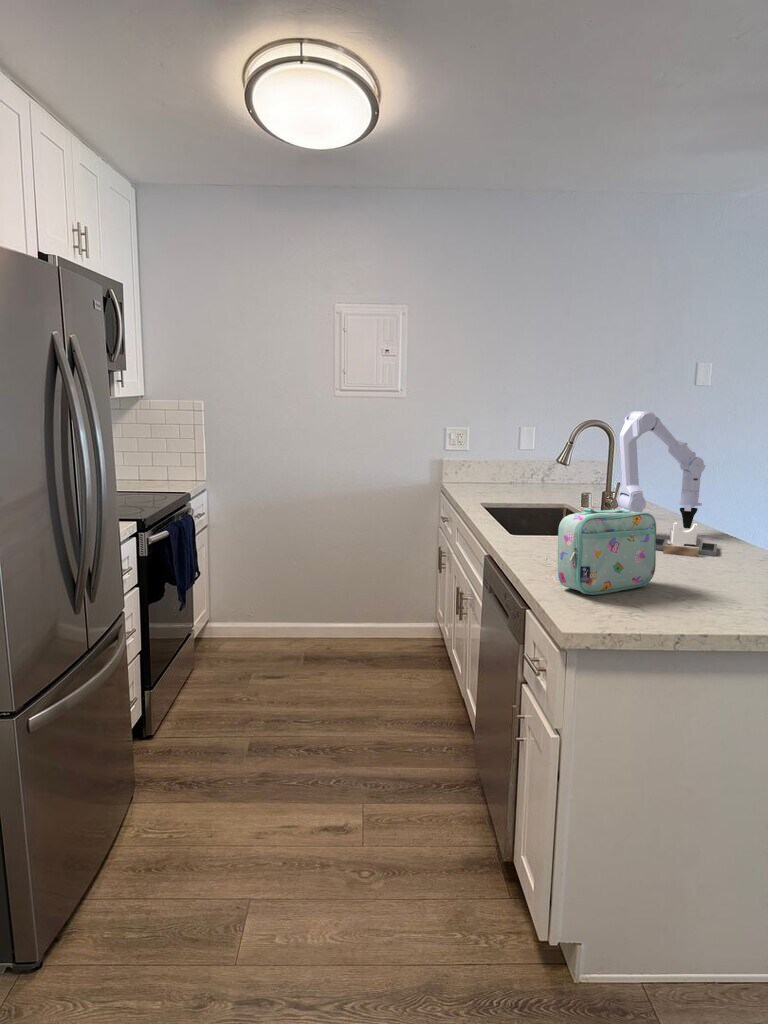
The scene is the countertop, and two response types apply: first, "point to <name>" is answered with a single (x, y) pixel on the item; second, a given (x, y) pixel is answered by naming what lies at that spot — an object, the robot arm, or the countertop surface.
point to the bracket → (683, 535)
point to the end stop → (680, 550)
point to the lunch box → (606, 550)
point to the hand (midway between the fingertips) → (687, 528)
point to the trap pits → (704, 548)
